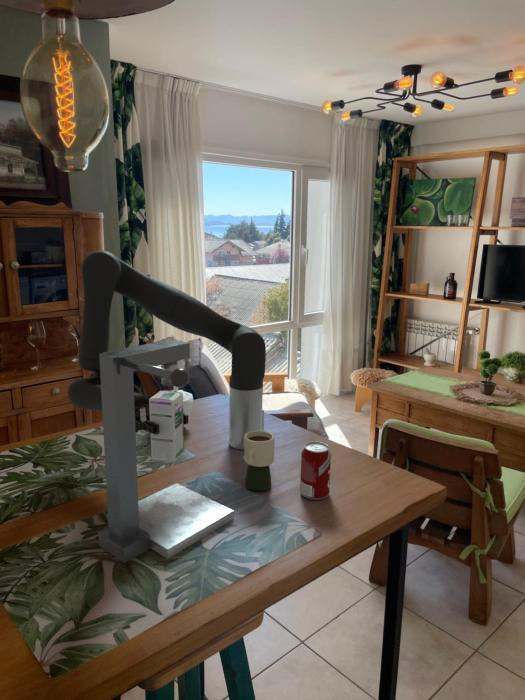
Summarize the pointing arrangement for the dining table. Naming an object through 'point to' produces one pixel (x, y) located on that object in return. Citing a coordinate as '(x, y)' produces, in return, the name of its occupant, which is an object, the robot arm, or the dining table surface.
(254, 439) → the character mug
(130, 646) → the dining table surface
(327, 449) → the soda can
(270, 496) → the dining table surface
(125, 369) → the bench press
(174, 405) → the syrup box
